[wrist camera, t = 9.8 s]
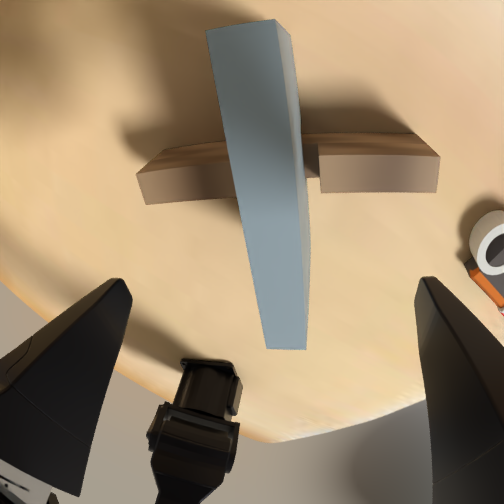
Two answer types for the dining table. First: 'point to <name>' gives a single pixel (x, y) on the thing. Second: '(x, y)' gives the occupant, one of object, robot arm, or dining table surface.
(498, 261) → the electronic device
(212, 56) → the slotted plate
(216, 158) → the base plate
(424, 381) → the robot arm
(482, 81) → the dining table surface
